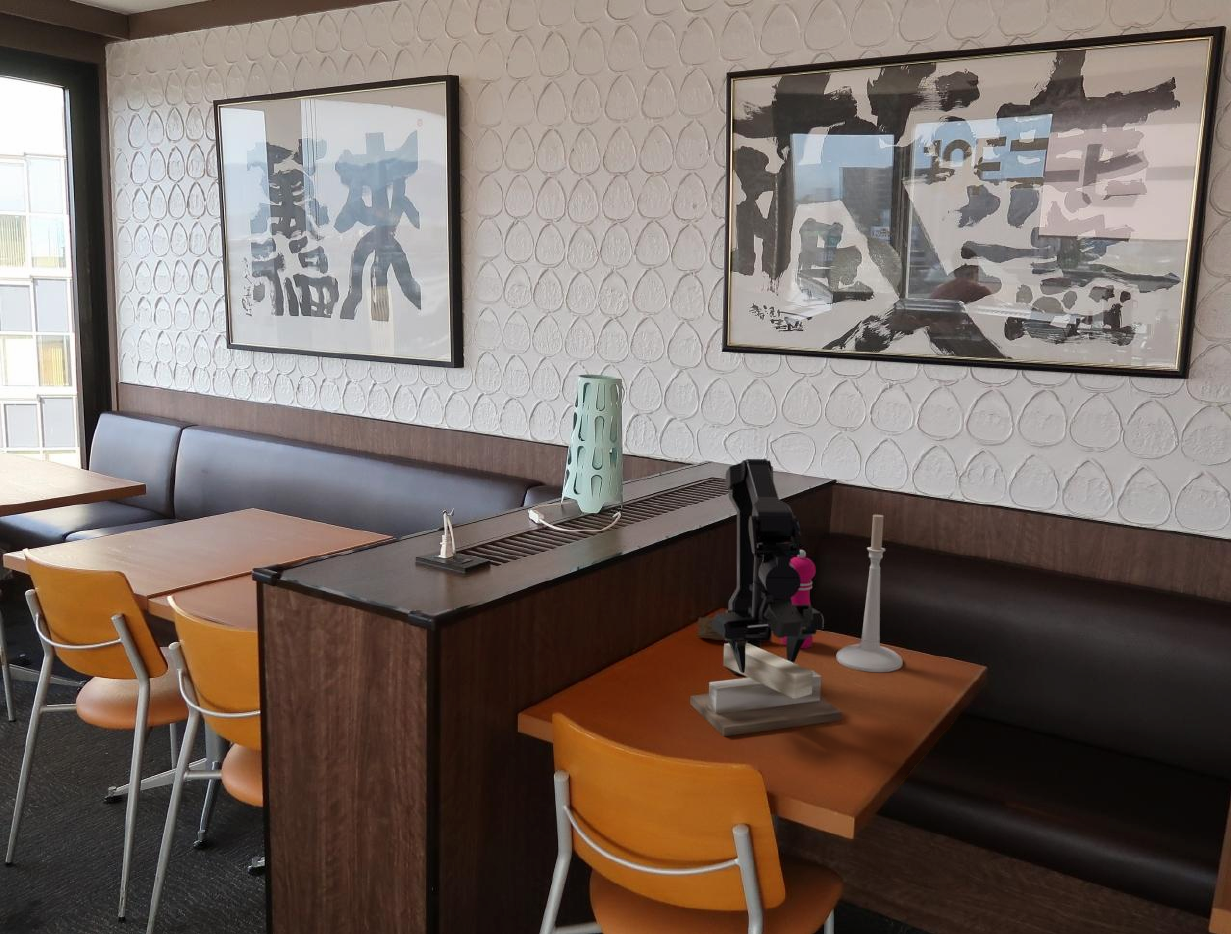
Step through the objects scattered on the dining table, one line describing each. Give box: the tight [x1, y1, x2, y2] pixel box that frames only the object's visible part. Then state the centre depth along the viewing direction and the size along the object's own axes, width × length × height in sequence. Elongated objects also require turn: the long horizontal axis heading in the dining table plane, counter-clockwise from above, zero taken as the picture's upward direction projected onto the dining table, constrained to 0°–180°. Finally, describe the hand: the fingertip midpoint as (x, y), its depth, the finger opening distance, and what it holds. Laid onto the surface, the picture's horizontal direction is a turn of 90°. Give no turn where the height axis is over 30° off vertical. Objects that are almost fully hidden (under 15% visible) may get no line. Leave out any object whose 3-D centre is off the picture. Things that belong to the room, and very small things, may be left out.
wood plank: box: [696, 616, 773, 642], centre depth 217 cm, size 15×2×5 cm, turn 88°
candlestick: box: [835, 513, 904, 673], centre depth 205 cm, size 13×13×30 cm
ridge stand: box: [689, 669, 842, 737], centre depth 180 cm, size 14×22×6 cm, turn 109°
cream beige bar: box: [722, 642, 814, 699], centre depth 180 cm, size 18×4×4 cm, turn 34°
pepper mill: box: [781, 549, 817, 649], centre depth 215 cm, size 7×7×20 cm
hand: (766, 669), depth 180 cm, fingers open, 9 cm apart
